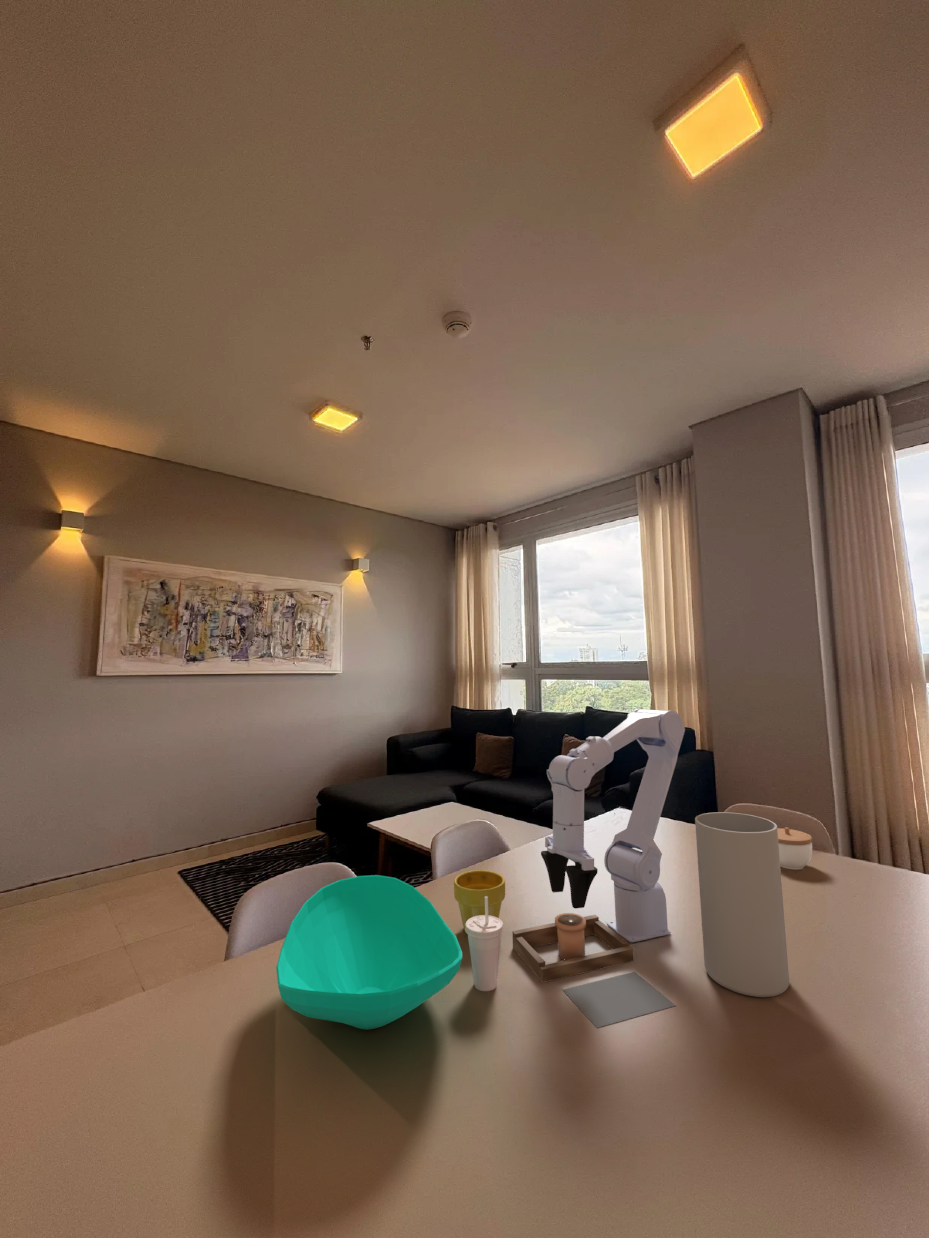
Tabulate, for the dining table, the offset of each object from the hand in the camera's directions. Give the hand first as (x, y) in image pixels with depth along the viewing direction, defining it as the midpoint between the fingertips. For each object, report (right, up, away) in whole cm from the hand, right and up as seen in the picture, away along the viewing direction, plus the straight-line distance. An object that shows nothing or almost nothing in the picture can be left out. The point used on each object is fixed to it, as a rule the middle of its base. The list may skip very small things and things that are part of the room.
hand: (567, 899), depth 98 cm
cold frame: (+1, -10, -1) cm, 10 cm away
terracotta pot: (+1, -10, -1) cm, 10 cm away
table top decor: (-33, -9, -16) cm, 38 cm away
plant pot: (-16, -11, +9) cm, 21 cm away
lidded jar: (+65, -12, +39) cm, 77 cm away
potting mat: (+5, -8, -14) cm, 17 cm away
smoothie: (-15, -9, -10) cm, 20 cm away
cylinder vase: (+28, -8, -9) cm, 31 cm away
